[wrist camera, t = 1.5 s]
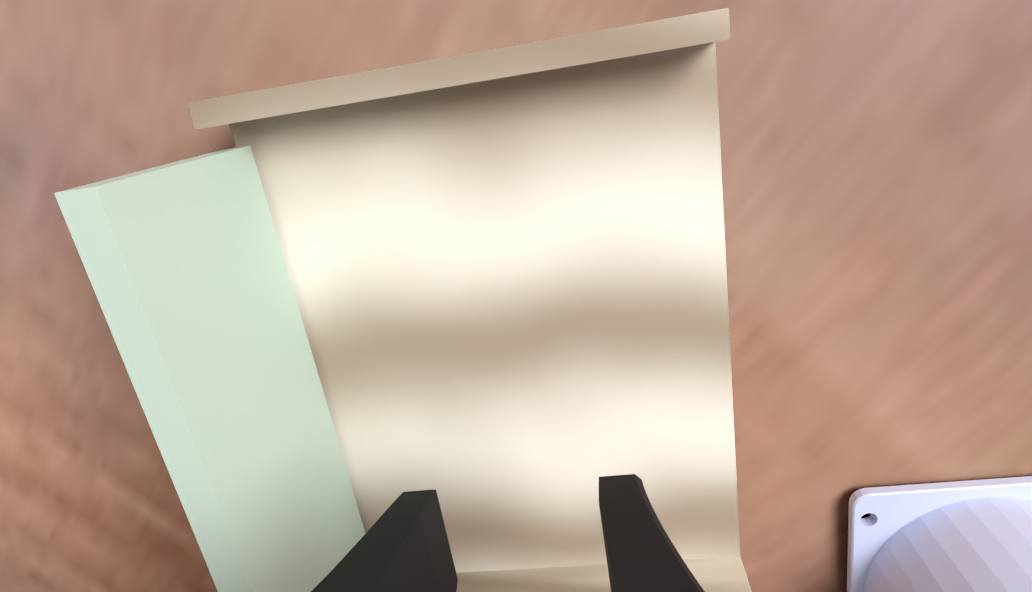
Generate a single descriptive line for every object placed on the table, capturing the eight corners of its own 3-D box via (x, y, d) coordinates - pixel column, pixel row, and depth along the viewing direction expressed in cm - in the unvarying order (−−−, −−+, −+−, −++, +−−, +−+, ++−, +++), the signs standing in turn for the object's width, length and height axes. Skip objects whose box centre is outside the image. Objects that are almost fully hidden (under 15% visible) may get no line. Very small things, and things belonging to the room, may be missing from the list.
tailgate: (375, 567, 20) (308, 737, 15) (352, 568, 21) (278, 737, 15) (250, 145, 16) (94, 186, 11) (221, 150, 16) (54, 193, 11)
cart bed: (723, 516, 22) (753, 611, 18) (391, 538, 23) (356, 629, 20) (694, 19, 16) (728, 7, 13) (267, 93, 18) (186, 102, 14)
